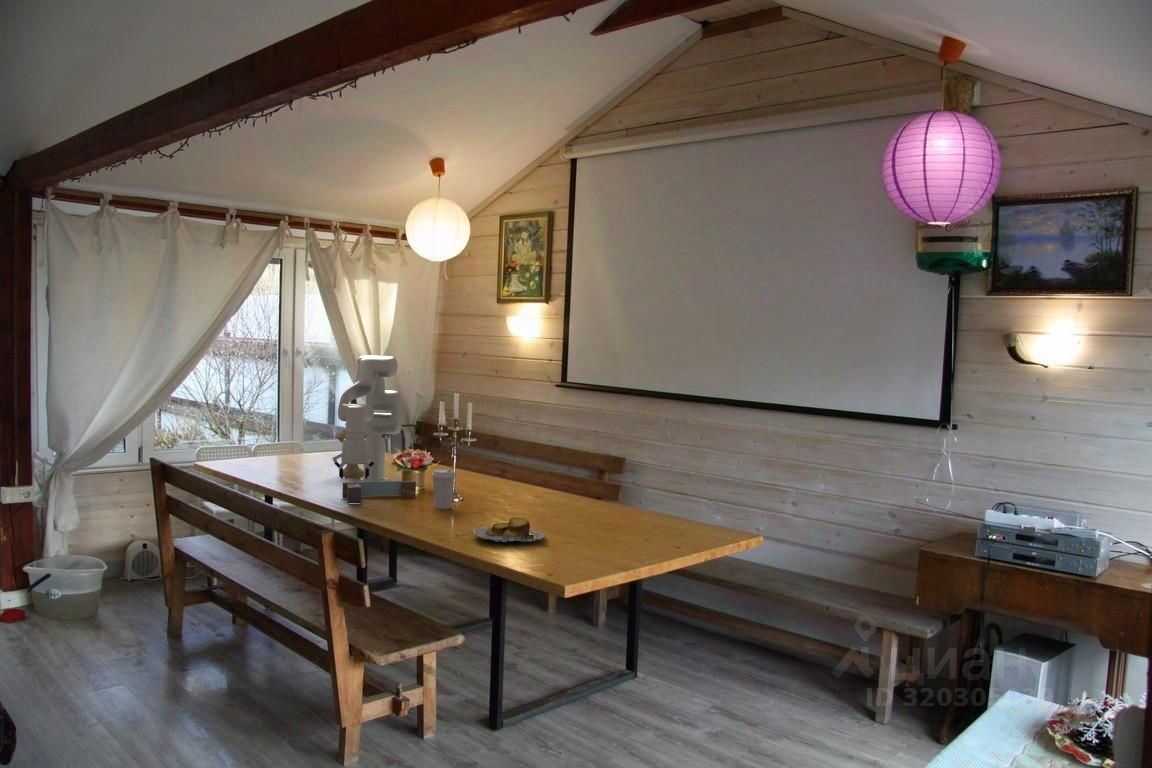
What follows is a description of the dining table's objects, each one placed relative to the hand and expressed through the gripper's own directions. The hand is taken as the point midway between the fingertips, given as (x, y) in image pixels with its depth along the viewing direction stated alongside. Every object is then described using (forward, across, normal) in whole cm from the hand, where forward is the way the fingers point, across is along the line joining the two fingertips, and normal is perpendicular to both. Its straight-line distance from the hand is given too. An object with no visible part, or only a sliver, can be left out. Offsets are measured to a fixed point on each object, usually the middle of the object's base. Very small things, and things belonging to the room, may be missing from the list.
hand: (354, 478), depth 350 cm
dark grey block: (+10, 0, -1) cm, 10 cm away
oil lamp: (+9, -3, -60) cm, 60 cm away
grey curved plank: (+9, -12, -12) cm, 19 cm away
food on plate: (+12, -48, +67) cm, 84 cm away
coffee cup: (+10, -34, +13) cm, 38 cm away
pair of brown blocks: (+10, -11, -10) cm, 18 cm away
